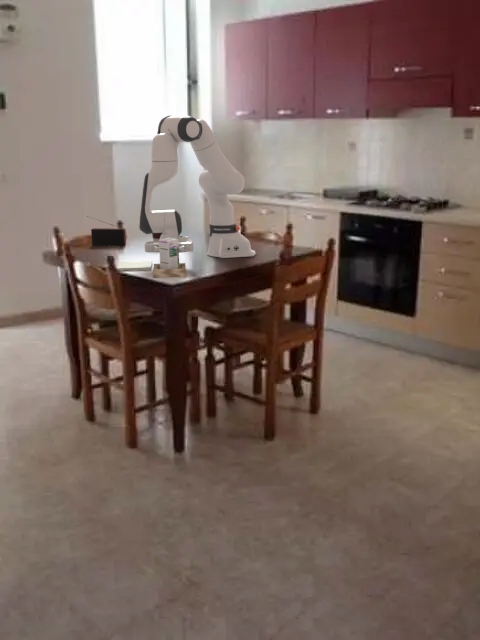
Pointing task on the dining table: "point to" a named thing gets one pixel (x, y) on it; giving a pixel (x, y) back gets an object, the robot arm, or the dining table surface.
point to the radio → (108, 236)
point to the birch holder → (169, 271)
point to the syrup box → (169, 253)
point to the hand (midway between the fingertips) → (168, 249)
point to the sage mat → (135, 265)
